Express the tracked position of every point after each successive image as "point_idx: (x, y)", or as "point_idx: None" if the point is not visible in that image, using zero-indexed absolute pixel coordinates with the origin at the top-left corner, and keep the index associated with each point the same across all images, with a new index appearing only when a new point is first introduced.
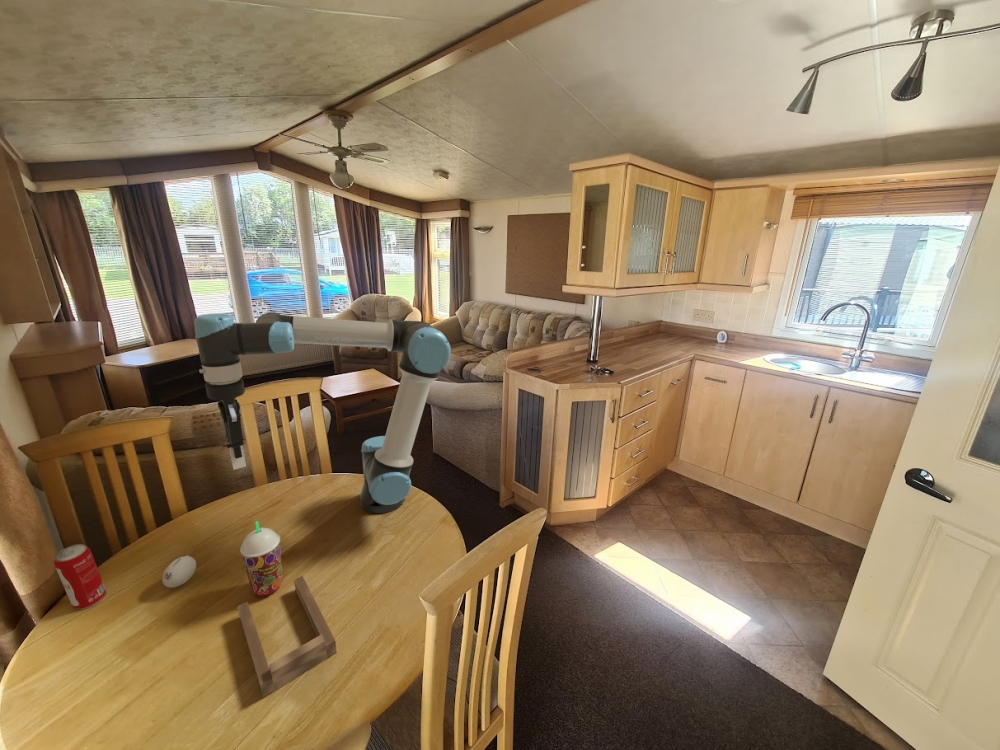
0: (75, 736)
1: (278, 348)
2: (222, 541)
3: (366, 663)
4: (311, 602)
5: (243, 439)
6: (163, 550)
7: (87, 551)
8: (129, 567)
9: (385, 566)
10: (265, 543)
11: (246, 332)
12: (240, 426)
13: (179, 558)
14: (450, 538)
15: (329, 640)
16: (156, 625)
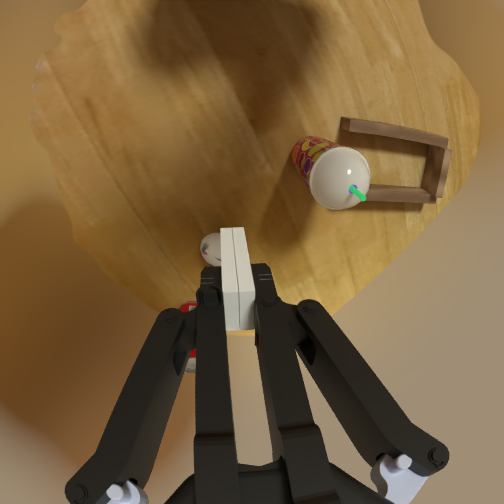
0: (349, 298)
1: None
2: (154, 193)
3: (458, 122)
4: (398, 131)
5: (220, 288)
6: (135, 258)
7: (195, 354)
8: (153, 286)
9: (379, 24)
10: (369, 180)
11: None
12: (390, 397)
13: (214, 258)
14: None
15: (445, 142)
16: (277, 262)
